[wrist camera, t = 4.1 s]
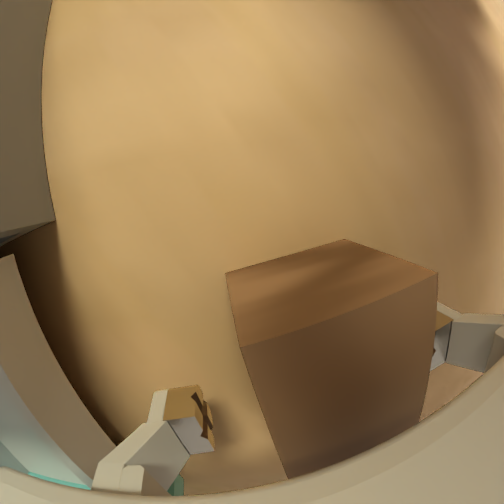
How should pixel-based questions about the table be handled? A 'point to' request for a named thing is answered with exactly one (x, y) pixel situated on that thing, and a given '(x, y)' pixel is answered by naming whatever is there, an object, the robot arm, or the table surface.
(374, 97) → the table surface
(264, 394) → the walnut block
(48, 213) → the gray drawer box
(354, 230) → the table surface
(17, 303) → the teal drawer
